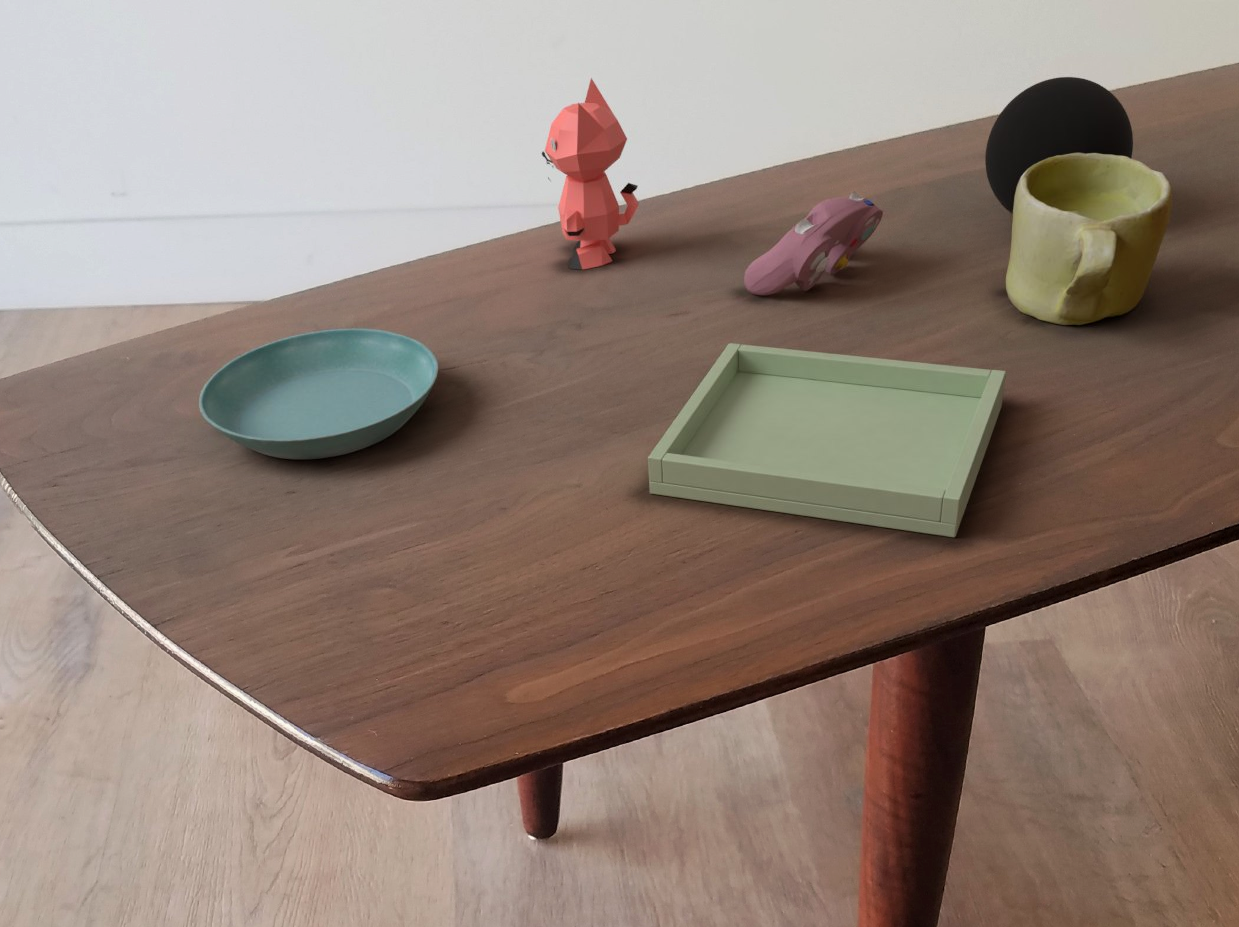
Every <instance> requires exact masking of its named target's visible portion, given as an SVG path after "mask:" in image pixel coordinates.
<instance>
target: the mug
mask: <svg viewBox="0 0 1239 927" xmlns="http://www.w3.org/2000/svg"><path fill="white" fill-rule="evenodd" d="M1172 201H1173V191H1172V184H1171V182H1170V181H1169V179H1167V177H1166V176H1165V174H1164V173H1163V172H1161V171H1158V170H1154V169H1153V168H1150V167H1149V166H1147V165H1146V164H1145V163H1143V162H1141V161H1140V160H1136V159H1134V158H1129V157H1126V156H1117V155H1107V154H1098V153H1089V154H1084V153H1071V154H1066V155H1057V156H1054V157H1050V158H1047V159H1045V160H1042V161H1040V162H1038V163H1036V164H1034V165H1033V166H1031V167H1030V168H1028V169H1027V170H1026V171H1025V173H1024V174H1023V175H1022V176H1021V178H1020V180H1019V182H1018V185H1017V188H1016V192H1015V198H1014V207H1013V214H1012V225H1011V227H1012V228H1011V241H1010V243H1011V244H1010V254H1009V259H1008V264H1007V270H1006V276H1005V289H1006V293H1007V297H1008V299H1009V301H1010V302H1011V303H1012V305H1013V306H1014V307H1015V308H1016V309H1017V310H1018V311H1019V312H1020V313H1023V314H1024V315H1028V316H1031V317H1033V318H1036V319H1037V320H1040V321H1044V322H1047V323H1051V324H1055V325H1060V326H1061V325H1063V326H1072V325H1073V326H1074V325H1076V326H1081V325H1086V324H1090V323H1094V322H1097V321H1101V320H1102V319H1105V318H1110V317H1111V318H1113V317H1115V316H1122V315H1124V314H1127V313H1129V312H1130V311H1132V310H1134V309H1135V308H1136V307H1137V306H1138V304H1139V303H1140V301H1141V300H1142V298H1143V296H1144V293H1145V291H1146V288H1147V286H1148V283H1149V279H1150V276H1151V273H1152V270H1153V268H1154V265H1155V263H1156V260H1157V257H1158V254H1159V251H1160V249H1161V244H1162V242H1163V239H1164V237H1165V234H1166V231H1167V229H1168V225H1169V222H1170V218H1171V212H1172Z"/></svg>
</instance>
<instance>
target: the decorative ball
mask: <svg viewBox="0 0 1239 927" xmlns="http://www.w3.org/2000/svg"><path fill="white" fill-rule="evenodd" d="M1133 137H1134V135H1133V128H1132V124H1131V121H1130V118H1129V116H1128V113H1127V111H1126V109H1125V107H1124V106H1123V104H1122V103H1121V102H1120V100H1119V99H1118V98H1117V97H1116V95H1114V93H1112V92H1111V91H1110V90H1108V89H1107V88H1106V87H1104V86H1102V85H1101V84H1099V83H1097V82H1096V81H1092V80H1089V79H1086V78H1082V77H1077V76H1076V77H1075V76H1074V77H1073V76H1060V77H1054V78H1048V79H1044V80H1042V81H1039V82H1037V83H1035V84H1032V85H1031V86H1029V87H1028V88H1027V87H1026V88H1025V89H1023V90H1022V91H1021V92H1020V93H1019V94H1017V95H1016V96H1015V97H1013V98H1012V100H1011V101H1009V102H1008V103H1007V105H1006V106H1005V107H1004V108H1003V109H1002V111H1001V112H1000V113H999V115H998V117H997V118H996V119H995V121H994V124H993V126H992V128H991V130H990V132H989V135H988V139H987V142H986V146H985V147H986V148H985V158H984V159H985V160H984V161H985V171H986V177H987V180H988V184H989V186H990V189H991V191H992V193H993V194H994V196H995V198H996V199H997V201H998V202H999V203H1000V204H1001V205H1002V207H1003V208H1004V209H1006V211H1008V212H1009V213H1010V214H1012V215H1013V207H1014V198H1015V192H1016V188H1017V185H1018V182H1019V180H1020V178H1021V176H1022V175H1023V174H1024V173H1025V171H1026V170H1027V169H1028V168H1030V167H1031V166H1033V165H1034V164H1036V163H1038V162H1040V161H1042V160H1045V159H1047V158H1050V157H1054V156H1057V155H1066V154H1071V153H1084V154H1089V153H1098V154H1107V155H1117V156H1126V157H1129V158H1131V159H1133V158H1132V157H1133V151H1134V150H1133V149H1134V138H1133Z"/></svg>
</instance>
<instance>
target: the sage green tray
mask: <svg viewBox="0 0 1239 927" xmlns="http://www.w3.org/2000/svg"><path fill="white" fill-rule="evenodd" d="M722 351H723V352H722V353H721V354H720V356H718V358H717V359H716V361H715V363H714V364H713V365H712V366H711V368H710V369H709V371H708V372H707V374H706V375H705V376H704V378H703V379H702V380H701V382H700V383H699V385H698V386H697V388H696V389H695V391H694V392H693V393H692V394H691V397H690V398H689V399H688V400H687V402H686V403H685V404H684V405H683V408H682V409H681V410H680V412H679V413H678V414H677V416H676V417H675V418H674V420H673V422H672V423H671V424H670V426H669V427H668V429H667V430H666V431H665V433H664V434H663V435H662V437H661V438H660V440H659V441H658V443H657V444H656V446H655V447H654V448H653V450H652V451H651V452H650V453H649V455H648V456H647V463H648V465H647V467H648V481H649V482H648V483H649V484H648V485H649V494H650V495H657V496H665V497H671V498H679V499H686V500H693V501H699V502H700V501H701V502H708V503H713V504H721V505H728V506H734V507H741V508H746V509H753V510H763V511H768V512H775V513H783V514H790V515H795V516H802V517H810V518H817V519H825V520H831V521H837V522H844V523H852V524H858V525H865V526H872V527H879V528H887V529H893V530H899V531H906V532H907V531H908V532H914V533H922V534H926V535H927V534H929V535H935V536H942V537H948V538H956V536H957V533H958V531H959V528H960V525H961V522H962V519H963V517H964V514H965V511H966V509H967V504H968V502H969V499H970V497H971V494H972V491H973V488H974V486H975V483H976V480H977V477H978V474H979V471H980V469H981V465H982V463H983V460H984V458H985V454H986V452H987V449H988V446H989V444H990V440H991V439H992V438H991V437H992V435H993V432H994V429H995V427H996V423H997V420H998V417H999V415H1000V412H1001V409H1002V406H1003V398H1004V396H1003V395H1004V391H1005V384H1006V383H1005V382H1006V374H1007V371H1006V370H998V369H986V368H977V367H966V366H958V365H957V366H956V365H948V364H947V365H946V364H937V363H928V362H918V361H917V362H916V361H907V360H898V359H889V358H879V357H878V358H877V357H869V356H860V355H859V356H858V355H850V354H839V353H830V352H829V353H828V352H820V351H819V352H818V351H810V350H800V349H792V348H791V349H789V348H780V347H770V346H761V345H753V344H752V345H750V344H741V343H733V342H729V343H728V344H727V345H726V347H725V349H724V350H722Z"/></svg>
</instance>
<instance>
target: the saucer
mask: <svg viewBox="0 0 1239 927" xmlns="http://www.w3.org/2000/svg"><path fill="white" fill-rule="evenodd" d="M438 362H439V361H438V359H437V357H436V355H435V353H434V352H433V351H432V350H431V348H429V347H428V346H427V345H426V344H423V343H422V342H421V341H419V340H417V339H414V338H412V337H410V336H407V335H406V334H405V335H403V334H399V333H396V332H393V331H388V330H383V329H374V328H373V329H371V328H361V327H360V328H358V327H356V328H331V329H324V330H319V331H311V332H306V333H305V332H304V333H300V334H295V335H291V336H287V337H284V338H280V339H278V340H274V341H271V342H268V343H266V344H263V345H260V346H257V347H255V348H253V349H251V350H249V351H246V352H243V354H240V355H239V356H237V357H235V358H233V359H232V360H230V361H228V362H227V363H225V364H224V365H223V366H222V367H220V368H219V369H218V370H217V371H216V372H214V373H213V375H211V377H210V378H209V379H208V380H207V381H206V383H205V384H204V385H203V388H201V391H200V395H199V398H198V407H199V411H200V413H201V415H202V417H203V419H204V420H206V422H207V423H209V424H210V425H211V426H212V427H213V428H214V429H215V430H217V431H218V432H220V434H222V435H223V436H225V437H226V438H227V439H230V440H231V441H233V442H234V443H237V444H239V445H241V446H243V447H245V448H247V449H248V450H249V449H250V450H253V451H254V452H256V453H260V454H262V455H265V456H268V457H273V458H278V459H286V460H320V459H328V458H333V457H339V456H344V455H346V454H350V453H354V452H357V451H360V450H363V449H366V448H368V447H370V446H373V445H375V444H377V443H379V442H381V441H383V440H385V439H387V438H388V437H391V436H392V435H393V434H395V433H396V432H397V431H398V430H400V429H401V428H402V427H404V425H405V424H406V423H407V422H408V421H409V420H410V419H411V418H412V417H413V416H414V415H415V414H416V412H418V410H419V409H420V407H422V405H423V403H424V402H425V401H426V399H427V398H428V396H429V395H430V392H431V391H432V388H433V387H434V384H435V382H436V380H437V378H438V374H439V363H438Z"/></svg>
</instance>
